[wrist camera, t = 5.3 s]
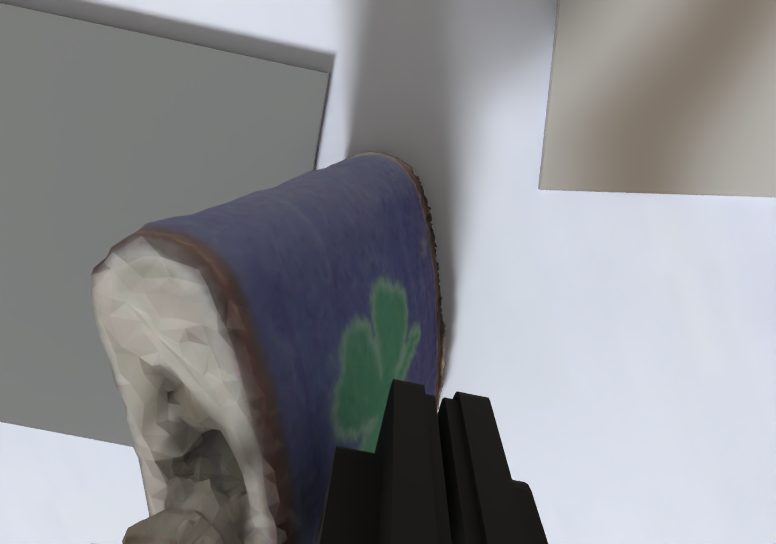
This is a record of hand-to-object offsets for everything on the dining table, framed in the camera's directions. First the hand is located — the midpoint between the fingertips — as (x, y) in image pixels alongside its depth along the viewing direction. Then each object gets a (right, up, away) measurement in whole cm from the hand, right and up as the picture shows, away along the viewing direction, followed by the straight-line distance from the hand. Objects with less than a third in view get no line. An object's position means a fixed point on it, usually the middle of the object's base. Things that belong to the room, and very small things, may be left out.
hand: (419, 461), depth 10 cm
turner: (+11, +8, +5) cm, 14 cm away
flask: (0, +2, +7) cm, 7 cm away
